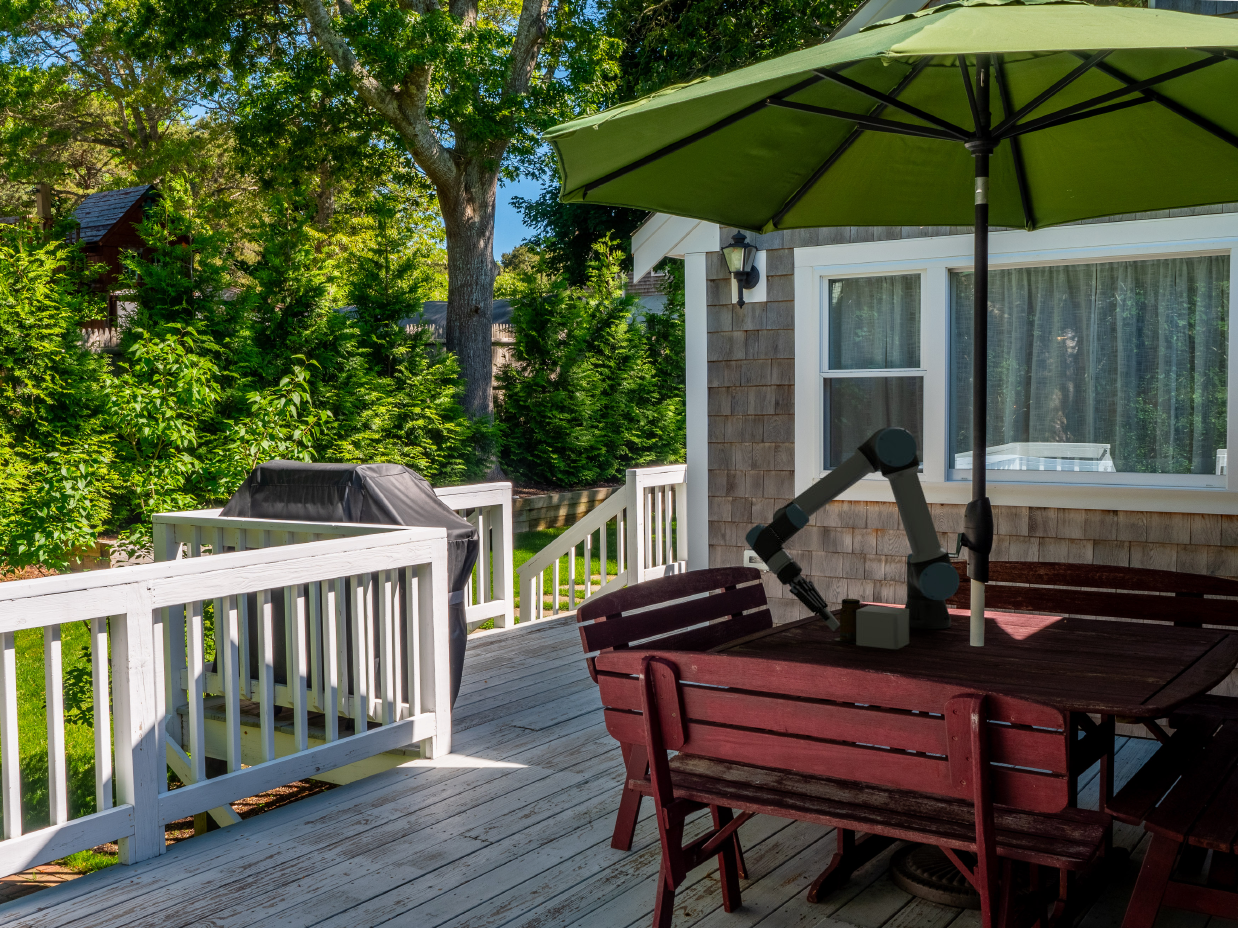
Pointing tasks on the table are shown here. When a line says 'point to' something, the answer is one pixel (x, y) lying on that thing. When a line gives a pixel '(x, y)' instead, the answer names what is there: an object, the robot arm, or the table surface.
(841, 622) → the condiment
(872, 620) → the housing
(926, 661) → the table surface
